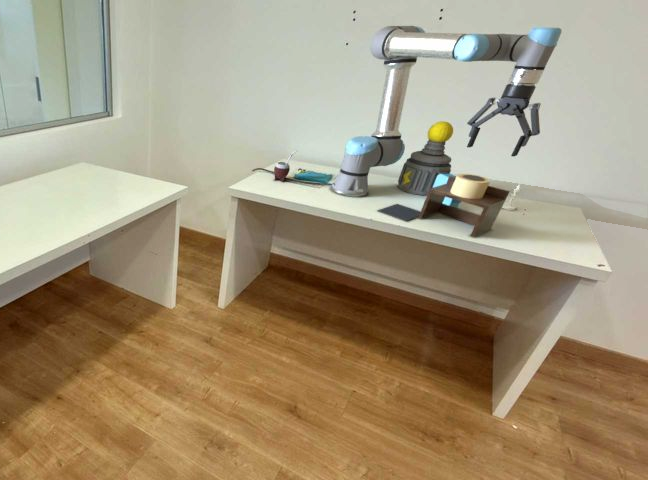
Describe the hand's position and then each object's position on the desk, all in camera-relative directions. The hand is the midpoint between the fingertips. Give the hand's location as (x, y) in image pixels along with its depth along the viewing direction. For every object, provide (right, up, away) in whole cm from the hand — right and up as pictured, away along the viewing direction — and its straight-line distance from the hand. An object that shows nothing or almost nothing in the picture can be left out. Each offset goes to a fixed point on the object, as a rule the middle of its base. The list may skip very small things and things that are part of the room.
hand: (490, 151), depth 141 cm
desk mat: (-17, -17, +24) cm, 34 cm away
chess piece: (+32, -15, +29) cm, 46 cm away
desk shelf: (-2, -23, +15) cm, 28 cm away
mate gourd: (-55, +4, +57) cm, 79 cm away
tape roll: (-2, -13, +8) cm, 16 cm away
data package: (+6, -13, +31) cm, 34 cm away
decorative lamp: (+7, -3, +48) cm, 48 cm away
